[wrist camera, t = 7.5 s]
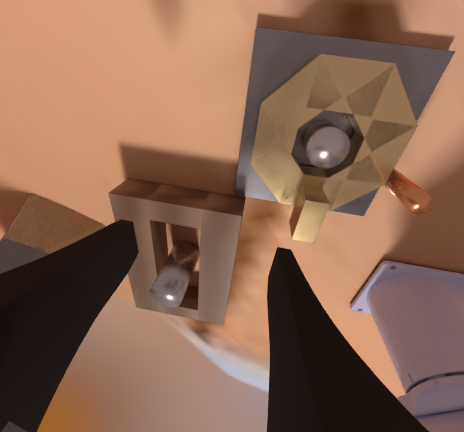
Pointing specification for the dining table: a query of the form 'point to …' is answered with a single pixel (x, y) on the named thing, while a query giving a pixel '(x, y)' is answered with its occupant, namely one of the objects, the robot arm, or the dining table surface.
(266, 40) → the nut base
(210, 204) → the slot block
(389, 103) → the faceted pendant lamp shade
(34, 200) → the sandwich container
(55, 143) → the dining table surface
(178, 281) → the pin
